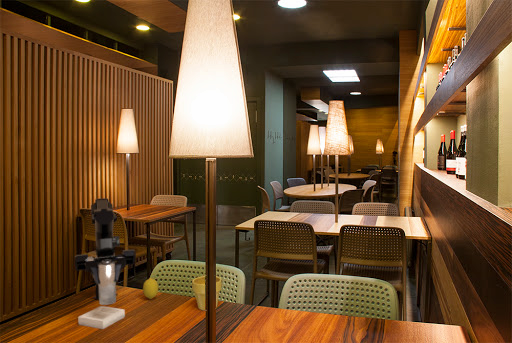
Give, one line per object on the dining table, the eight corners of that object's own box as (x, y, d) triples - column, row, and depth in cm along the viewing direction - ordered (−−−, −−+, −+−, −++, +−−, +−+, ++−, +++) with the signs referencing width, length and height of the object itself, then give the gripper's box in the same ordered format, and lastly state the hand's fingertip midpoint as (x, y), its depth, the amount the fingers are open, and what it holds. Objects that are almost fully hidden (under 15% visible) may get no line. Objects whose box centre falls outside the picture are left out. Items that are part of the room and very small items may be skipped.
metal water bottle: (109, 297, 134) (108, 257, 133) (119, 300, 131) (118, 259, 131) (95, 302, 130) (94, 261, 129) (105, 306, 127) (104, 263, 126)
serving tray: (101, 313, 139) (101, 305, 139) (124, 316, 135) (124, 309, 135) (78, 324, 130) (78, 316, 129) (103, 329, 126) (102, 321, 126)
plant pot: (186, 310, 140) (185, 282, 140) (203, 300, 150) (203, 274, 149) (211, 314, 136) (211, 286, 135) (227, 304, 145) (227, 277, 144)
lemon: (140, 300, 150) (139, 279, 150) (150, 295, 155) (149, 275, 155) (151, 302, 148) (150, 281, 148) (161, 298, 153) (161, 277, 152)
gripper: (73, 230, 129) (73, 274, 120) (134, 225, 136) (139, 266, 127) (75, 249, 137) (75, 291, 128) (132, 243, 144) (136, 283, 135)
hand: (107, 283), depth 129 cm, fingers closed on metal water bottle, 5 cm apart
